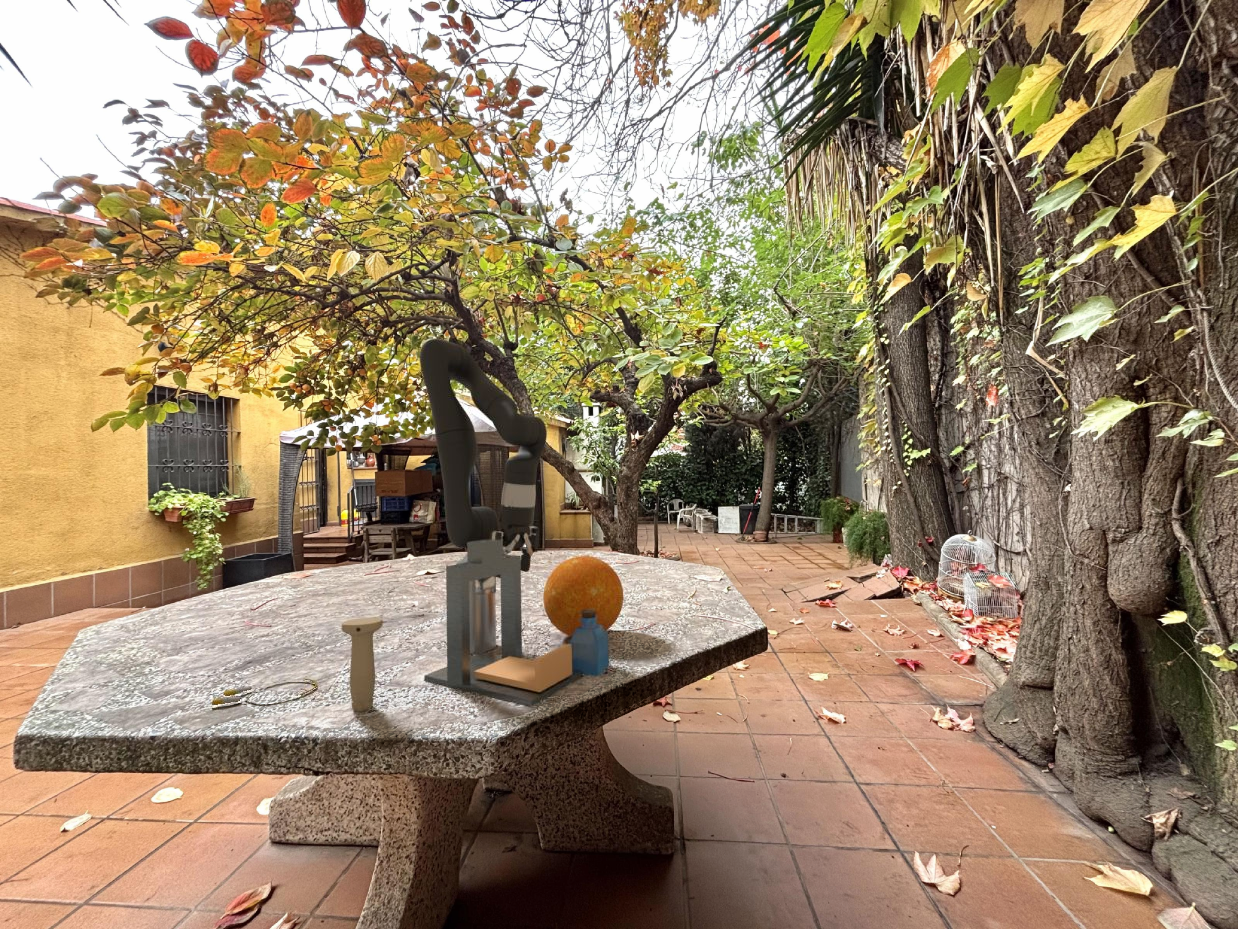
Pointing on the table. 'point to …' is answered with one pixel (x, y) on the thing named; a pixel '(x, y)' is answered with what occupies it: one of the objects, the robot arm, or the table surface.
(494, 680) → the press bed carriage
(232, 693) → the jump rope
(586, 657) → the perfume bottle
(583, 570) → the decorative sphere
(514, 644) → the press frame
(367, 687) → the handle
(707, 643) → the table surface
